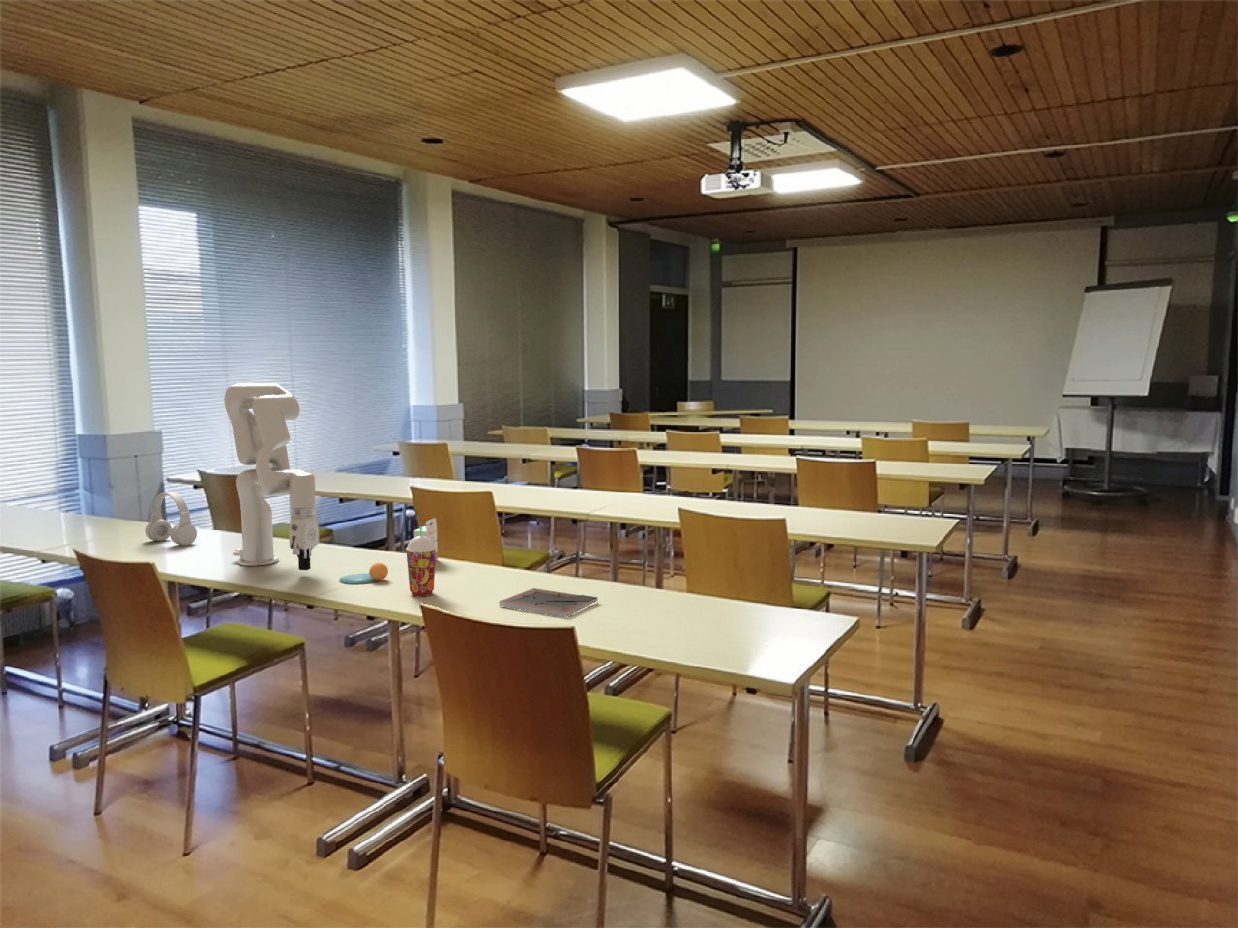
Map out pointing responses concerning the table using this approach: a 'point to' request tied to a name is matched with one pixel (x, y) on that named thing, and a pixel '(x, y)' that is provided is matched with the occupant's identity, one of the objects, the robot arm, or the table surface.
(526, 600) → the grey flat slab
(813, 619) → the table surface
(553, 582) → the table surface
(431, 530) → the ink cartridge box
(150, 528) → the headphones
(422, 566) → the smoothie
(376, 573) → the ball
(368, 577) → the disc
